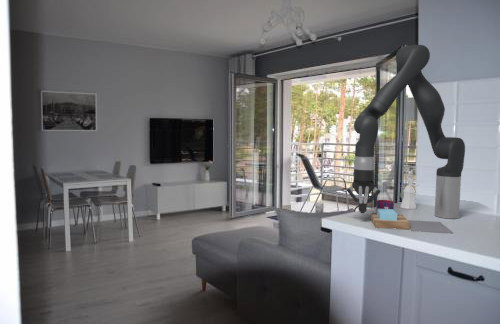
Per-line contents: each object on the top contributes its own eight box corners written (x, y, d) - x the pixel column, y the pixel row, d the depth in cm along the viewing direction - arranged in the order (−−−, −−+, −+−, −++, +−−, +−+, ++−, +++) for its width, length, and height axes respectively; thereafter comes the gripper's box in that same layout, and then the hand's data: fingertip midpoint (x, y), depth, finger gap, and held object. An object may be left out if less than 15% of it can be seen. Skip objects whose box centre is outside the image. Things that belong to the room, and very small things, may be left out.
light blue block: (377, 214, 154) (377, 208, 154) (392, 215, 153) (393, 209, 153) (380, 219, 146) (380, 213, 145) (397, 220, 144) (397, 214, 144)
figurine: (420, 208, 181) (422, 170, 179) (405, 209, 179) (406, 170, 177) (410, 205, 187) (412, 168, 186) (395, 206, 186) (397, 168, 184)
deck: (370, 219, 157) (371, 213, 157) (402, 220, 155) (402, 214, 155) (375, 227, 144) (375, 221, 144) (409, 229, 142) (409, 222, 141)
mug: (377, 218, 159) (378, 202, 158) (373, 213, 169) (374, 198, 168) (394, 219, 158) (395, 202, 157) (389, 214, 168) (390, 198, 167)
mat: (402, 220, 155) (402, 219, 155) (440, 222, 153) (440, 221, 153) (410, 231, 140) (410, 229, 140) (453, 233, 137) (453, 232, 137)
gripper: (380, 168, 152) (378, 211, 153) (345, 166, 154) (344, 210, 156) (383, 169, 145) (381, 215, 146) (346, 168, 147) (345, 213, 148)
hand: (362, 212), depth 151 cm, fingers closed
